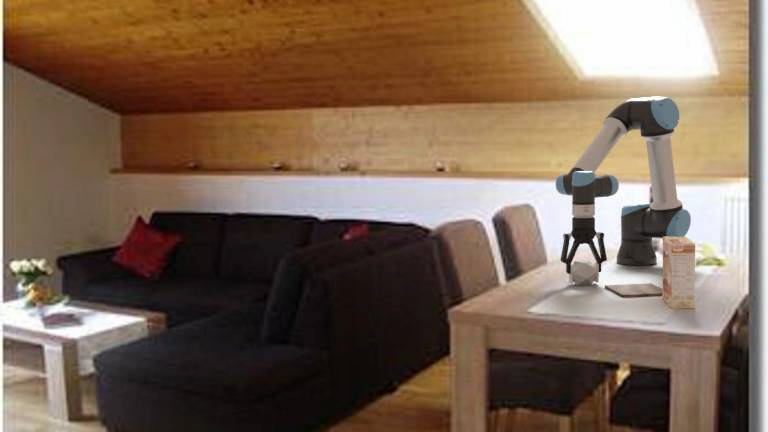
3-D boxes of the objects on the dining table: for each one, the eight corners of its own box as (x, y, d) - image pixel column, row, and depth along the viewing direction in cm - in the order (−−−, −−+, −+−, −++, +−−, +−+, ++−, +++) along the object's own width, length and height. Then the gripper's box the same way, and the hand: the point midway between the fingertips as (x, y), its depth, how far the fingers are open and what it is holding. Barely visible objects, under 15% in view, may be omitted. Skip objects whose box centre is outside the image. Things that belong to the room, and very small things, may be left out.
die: (591, 289, 271) (604, 264, 273) (568, 276, 272) (581, 251, 274) (585, 294, 279) (597, 269, 281) (562, 281, 280) (574, 256, 282)
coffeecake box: (661, 297, 253) (662, 236, 250) (685, 298, 251) (686, 236, 249) (669, 308, 238) (670, 243, 236) (695, 308, 237) (696, 243, 235)
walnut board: (651, 285, 272) (651, 283, 272) (671, 295, 256) (671, 292, 256) (604, 287, 270) (604, 285, 270) (622, 297, 255) (622, 294, 254)
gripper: (556, 218, 270) (557, 285, 272) (617, 216, 272) (617, 282, 274) (550, 216, 277) (550, 281, 280) (609, 214, 279) (609, 278, 281)
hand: (583, 282), depth 277 cm, fingers closed on die, 8 cm apart
